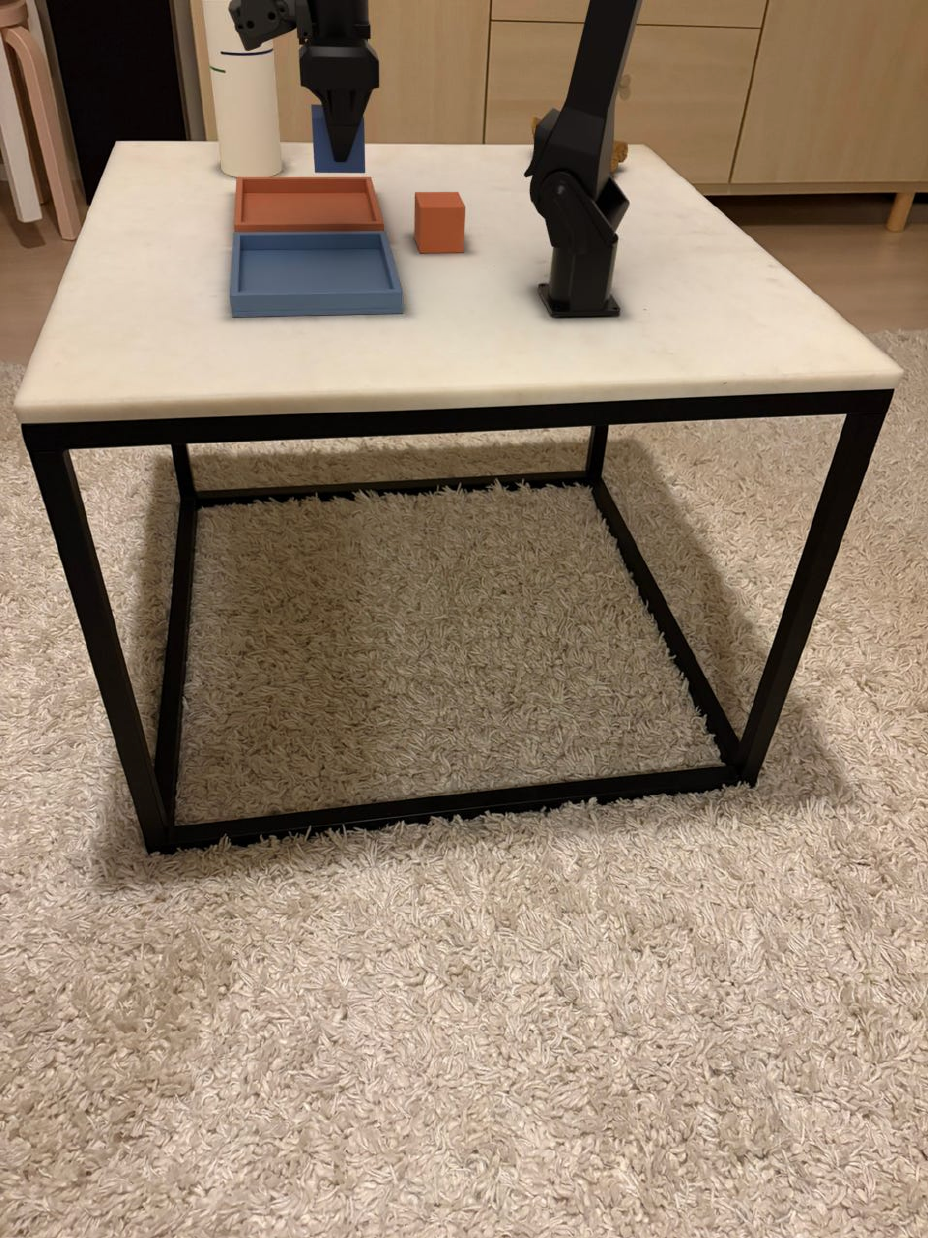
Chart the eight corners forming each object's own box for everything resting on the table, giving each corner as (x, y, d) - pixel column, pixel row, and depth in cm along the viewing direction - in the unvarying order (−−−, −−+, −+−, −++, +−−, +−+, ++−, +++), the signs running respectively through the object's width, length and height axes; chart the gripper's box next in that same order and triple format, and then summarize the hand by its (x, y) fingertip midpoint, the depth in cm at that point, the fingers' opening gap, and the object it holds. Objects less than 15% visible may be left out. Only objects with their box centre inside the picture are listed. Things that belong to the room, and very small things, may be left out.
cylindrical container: (270, 180, 109) (247, -87, 93) (211, 174, 110) (179, -93, 93) (290, 163, 115) (272, -93, 98) (235, 156, 115) (208, -99, 99)
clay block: (463, 252, 96) (465, 206, 93) (419, 253, 95) (420, 206, 92) (456, 236, 99) (458, 191, 96) (414, 236, 98) (414, 191, 95)
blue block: (365, 173, 85) (364, 118, 82) (314, 172, 84) (311, 117, 81) (362, 158, 88) (361, 104, 85) (313, 157, 87) (310, 103, 84)
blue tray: (402, 313, 84) (402, 291, 83) (232, 317, 82) (229, 294, 80) (386, 250, 95) (386, 230, 94) (235, 252, 93) (233, 232, 91)
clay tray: (384, 243, 96) (384, 223, 95) (235, 244, 94) (233, 224, 93) (371, 194, 107) (371, 176, 106) (238, 195, 105) (236, 176, 104)
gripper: (233, -76, 81) (252, 123, 91) (222, -44, 67) (245, 186, 77) (363, -71, 82) (367, 125, 93) (378, -38, 68) (380, 187, 79)
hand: (339, 153), depth 85 cm, fingers closed on blue block, 4 cm apart
